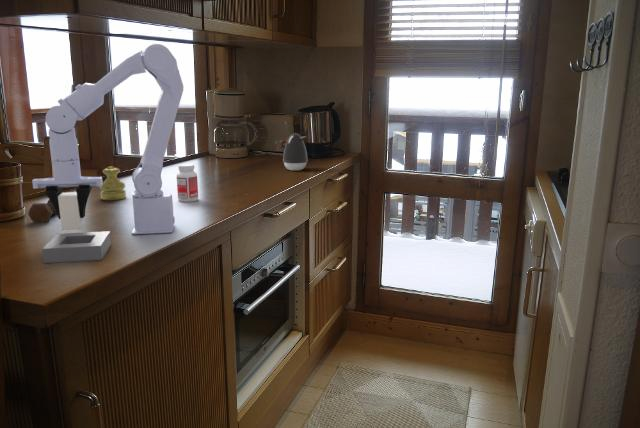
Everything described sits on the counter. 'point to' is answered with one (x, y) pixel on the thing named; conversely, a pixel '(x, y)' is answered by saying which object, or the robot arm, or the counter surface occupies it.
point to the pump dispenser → (295, 153)
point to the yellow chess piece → (112, 185)
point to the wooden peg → (70, 211)
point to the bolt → (41, 212)
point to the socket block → (77, 247)
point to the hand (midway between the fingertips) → (72, 217)
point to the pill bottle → (187, 183)
